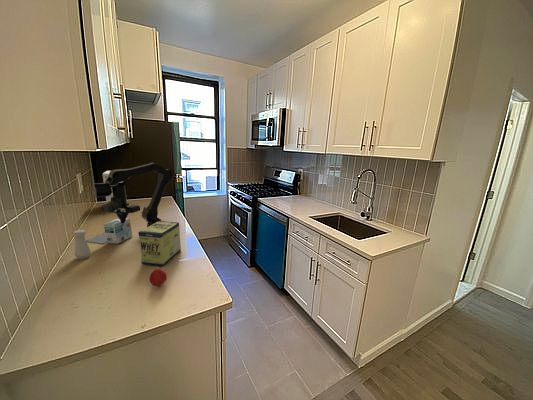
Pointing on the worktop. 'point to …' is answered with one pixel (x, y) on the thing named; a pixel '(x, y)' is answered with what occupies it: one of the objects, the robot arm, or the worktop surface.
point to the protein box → (159, 243)
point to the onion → (158, 277)
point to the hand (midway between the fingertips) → (123, 223)
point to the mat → (98, 239)
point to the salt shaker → (81, 245)
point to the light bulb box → (117, 231)
